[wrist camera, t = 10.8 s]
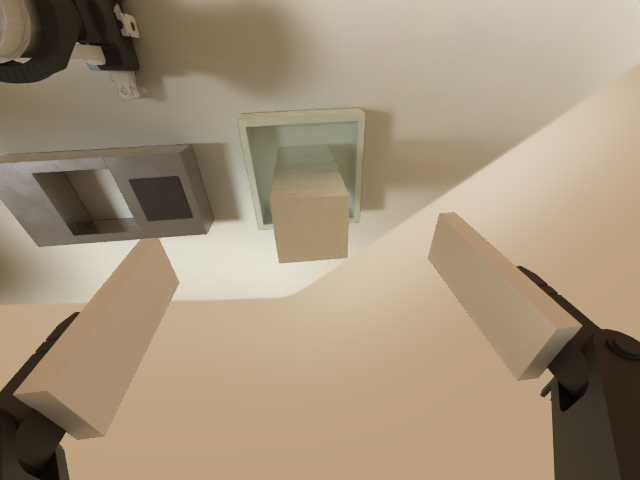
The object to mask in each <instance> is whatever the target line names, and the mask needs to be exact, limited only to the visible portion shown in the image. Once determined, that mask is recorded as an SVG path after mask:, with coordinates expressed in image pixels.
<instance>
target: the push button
mask: <svg viewBox="0 0 640 480" xmlns="http://www.w3.org/2000/svg"><path fill="white" fill-rule="evenodd" d="M131 22H132V24H133V26H134V31H133V29H132V27H131ZM131 37H135V38H139V31H138V28H137V24H136V21H135V19H134V17H133V16H131V15H128V14H125V13H123V10H122V6H121V3H120V0H0V82H6V83H16V84H17V83H32V82H37V81H41V80H44V79H46V78H48V77H49V76H51V75H52V74H54V73H56V72H59V71H61V70H64V69H66V67H67V65H68V62H69V60H70V59H85V61H86V63H87V65H88V67H89V68H90V69H92V70H108V71H109V74H110V77H111V80H112V81H115V84H116V87H117V90H118V92H119V95H120V98H121V99H122V100H133V98H139V97H140V96H139V92H138V89H137V86H136V83H135V80H137V79H136V76H135V73H134V71H137V70H139V69H140V67H139V63H138V59H137V56H136V53H135V49H134V46H133V43H132V39H131ZM76 42H79V43H80V44H76ZM17 58H31V59H30V60H29V61H28V62H26V63H24V64H22V63H19V62H16V61H14V59H17ZM130 87H132V88H134V91H135V92H134V93H132V92H131V89H130ZM122 88H125V91H126V93H127V94H126V95H125V94H123V93H122V91H121V89H122Z"/></svg>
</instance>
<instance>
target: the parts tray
mask: <svg viewBox="0 0 640 480" xmlns="http://www.w3.org/2000/svg"><path fill="white" fill-rule="evenodd" d="M365 115H366V113H365V112H364V111H362V110H361V109H359V108H343V109H324V110H305V111H286V112H267V113H247V114H242V115H241V116H240V117H239V118H238V119H237V123H238V128H239V133H240V138H241V143H242V148H243V153H244V158H245V163H246V168H247V174H248V179H249V184H250V189H251V194H252V199H253V204H254V209H255V214H256V219H257V224H258V229H259V230H267V229H274V227H273V221H272V215H271V208H270V202H269V200H270V194H271V188H272V182H273V176H274V170H275V164H276V158H277V153H278V147H291V146H308V145H325V144H327V145H328V147H329V149H330V152H331V154H332V156H333V159H334V161H335V163H336V166H337V168H338V170H339V172H340V175H341V177H342V179H343V182H344V184H345V186H346V189H347V191H348V193H349V221H348V223H359V219H360V201H361V184H362V167H363V149H364V132H365Z"/></svg>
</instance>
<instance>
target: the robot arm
mask: <svg viewBox="0 0 640 480" xmlns="http://www.w3.org/2000/svg"><path fill="white" fill-rule="evenodd" d="M428 259H429V260H430V262H431V263H432V264H433V265H434V267H435V268H436V270H437V271H438V273H439V274H440V275H441V277H442V278H443V280H444V281H445V282H446V283H447V285H448V286H449V288H450V289H451V291H452V292H453V293H454V295H455V296H456V297H457V299H458V300H459V302H460V303H461V304H462V306H463V307H464V308H465V310H466V311H467V313H468V314H469V315H470V317H471V318H472V319H473V321H474V322H475V324H476V325H477V326H478V328H479V329H480V330H481V332H482V333H483V335H484V336H485V337H486V339H487V340H488V341H489V343H490V344H491V345H492V347H493V348H494V350H495V351H496V352H497V354H498V355H499V356H500V358H501V359H502V361H503V362H504V363H505V365H506V366H507V368H508V369H509V370H510V372H511V373H512V375H513V376H514V377H515V379H516V380H517V381H520V380H527V379H534V378H539V376H541V374H542V373H543V372H544V371H545V369H547V368H548V369H549V370H550V371H551V372H552V374H553V375H554V377H553V379H552V380H551V381H550V382H549V383H548V384H547V385H546V386H545V387H544V388H543V390H542V392H541V396H542V397H545V396H546V395H547V394H548V393H549V392H550V391H551V401H552V423H553V447H554V472H555V480H640V342H639V341H637V340H635V339H634V338H632V337H630V336H628V335H626V334H623V333H621V332H618V331H613V330H609V329H600V328H599V327H598V326H597V325H595V324H594V323H593V322H592V321H591V320H589V319H588V318H587V317H586V316H585V315H583V314H582V313H581V312H580V311H579V310H578V309H576V308H575V307H574V306H573V305H572V304H571V303H569V302H568V301H567V300H566V299H565V298H563V297H562V296H561V295H558V294H557V292H556V291H555V290H554V289H553V288H552V287H550V286H548V284H547V283H546V282H544V281H543V280H542V279H541V278H540V277H539V276H537V275H536V274H535V273H533V272H531V271H529V270H527V269H525V268H523V267H522V266H515V265H513V264H512V263H511V262H510V261H509V260H508V259H507V258H506V257H504V256H503V255H502V254H501V253H500V252H499V251H498V250H497V249H495V248H494V247H493V246H492V245H491V244H490V243H489V242H488V241H486V240H485V239H484V238H483V237H482V236H481V235H479V234H478V233H477V232H476V231H475V230H474V229H473V228H472V227H471V226H470V225H468V224H467V223H466V222H465V221H464V220H463V219H462V218H461V217H459V216H458V215H457V214H456V213H454V212H452V213H441V214H439V217H438V221H437V225H436V229H435V233H434V237H433V241H432V245H431V249H430V253H429V257H428ZM178 284H179V281H178V278H177V276H176V274H175V272H174V270H173V268H172V266H171V263H170V261H169V259H168V257H167V255H166V253H165V251H164V248H163V246H162V244H161V242H160V240H159V238H148V239H140V241H139V242H138V243H137V244H136V245H135V247H134V248H133V249H132V250H131V252H130V253H129V254H128V255H127V256H126V258H125V259H124V260H123V261H122V262H121V264H120V265H119V266H118V267H117V269H116V270H115V271H114V272H113V273H112V275H111V276H110V277H109V278H108V279H107V281H106V282H105V283H104V284H103V286H102V287H101V288H100V289H99V290H98V292H97V293H96V294H95V295H94V296H93V298H92V299H91V300H90V301H89V302H88V304H87V305H86V306H85V307H84V309H83V310H82V311H81V312H75V313H74V314H72V315H71V316H70V317H68V318H67V319H66V320H64V321H63V322H62V323H60V324H59V325H58V326H57V327H56V328H55V330H54V331H53V332H52V333H51V334H50V335H49V336H48V338H47V339H46V342H43V343H42V344H41V346H40V347H39V348H38V349H37V350H36V353H35V354H33V355H32V356H31V357H30V358H29V359H28V361H27V362H26V363H25V364H24V365H23V366H22V367H21V369H20V370H19V371H18V372H17V373H16V374H15V376H14V377H13V378H12V379H11V380H10V381H9V382H8V384H7V385H6V386H5V387H4V388H3V389H2V390H1V392H0V480H69V474H68V470H67V463H66V458H65V452H64V449H63V448H62V446H61V445H60V444H59V442H60V441H61V439H62V438H63V436H64V434H65V433H66V432H67V433H68V434H70V435H71V436H73V437H74V438H76V439H77V440H80V439H88V438H95V437H102V436H105V435H106V433H107V431H108V428H109V426H110V424H111V422H112V420H113V418H114V416H115V414H116V412H117V410H118V408H119V406H120V404H121V402H122V400H123V398H124V395H125V393H126V391H127V389H128V387H129V385H130V383H131V381H132V379H133V377H134V375H135V373H136V371H137V369H138V367H139V365H140V362H141V360H142V358H143V356H144V354H145V352H146V350H147V348H148V346H149V344H150V342H151V340H152V338H153V336H154V334H155V332H156V330H157V328H158V326H159V323H160V321H161V319H162V317H163V315H164V313H165V311H166V309H167V307H168V305H169V303H170V301H171V299H172V297H173V295H174V293H175V291H176V288H177V286H178Z"/></svg>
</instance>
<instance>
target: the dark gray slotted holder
mask: <svg viewBox="0 0 640 480" xmlns="http://www.w3.org/2000/svg"><path fill="white" fill-rule="evenodd" d="M107 168H109V169H110V171H111V173H112V175H113V177H114V179H115V181H116V183H117V185H118V187H119V189H120V191H121V193H122V195H123V197H124V199H125V201H126V203H127V205H128V207H129V209H130V211H131V213H132V215H133V217H134V218H127V219H113V220H99V221H93V220H92V219H91V217H90V215H89V214H88V212H87V210H86V209H85V207H84V206H83V204H82V202H81V201H80V199H79V197H78V196H77V194H76V192H75V191H74V189H73V187H72V186H71V184H70V183H69V181H68V179H67V178H66V176H65V174H64V173H63V171H75V170H91V169H107ZM0 199H1V200H2V201H3V203H4V204H5V205H6V206H7V208H8V209H9V210H10V211H11V213H12V214H13V215H14V216H15V218H16V219H17V220H18V221H19V223H20V224H21V225H22V227H23V228H24V229H25V230H26V232H27V233H28V234H29V235H30V237H31V238H32V239H33V240H34V242H35V243H36V244H37V245H38V247H42V246H55V245H68V244H81V243H95V242H108V241H121V240H134V239H148V238H161V237H174V236H187V235H201V234H207V233H208V231H209V229H210V227H211V225H212V223H213V221H214V218H213V215H212V212H211V208H210V205H209V202H208V199H207V195H206V192H205V189H204V185H203V182H202V179H201V176H200V172H199V169H198V166H197V162H196V159H195V156H194V153H193V149H192V146H191V144H184V145H166V146H149V147H132V148H114V149H97V150H80V151H62V152H45V153H27V154H10V155H4V156H1V157H0Z"/></svg>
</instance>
